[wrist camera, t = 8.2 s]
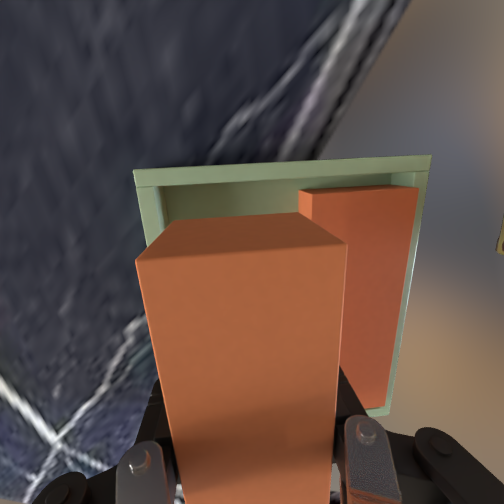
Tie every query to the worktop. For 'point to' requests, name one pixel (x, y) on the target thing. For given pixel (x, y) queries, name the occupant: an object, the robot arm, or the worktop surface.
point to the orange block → (248, 353)
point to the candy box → (501, 241)
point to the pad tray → (276, 199)
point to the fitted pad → (368, 274)
